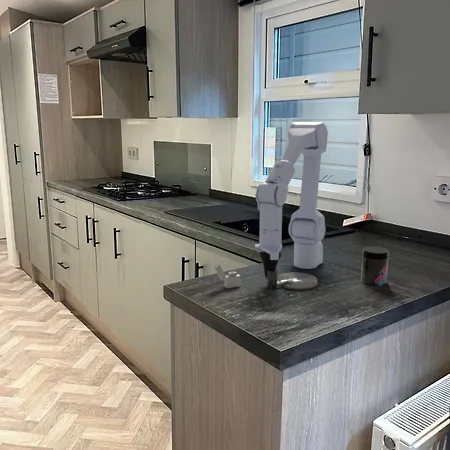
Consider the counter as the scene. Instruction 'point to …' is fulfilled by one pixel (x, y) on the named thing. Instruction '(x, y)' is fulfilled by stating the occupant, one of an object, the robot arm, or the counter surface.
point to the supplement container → (374, 266)
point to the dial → (290, 280)
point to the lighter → (228, 277)
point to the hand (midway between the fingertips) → (269, 278)
